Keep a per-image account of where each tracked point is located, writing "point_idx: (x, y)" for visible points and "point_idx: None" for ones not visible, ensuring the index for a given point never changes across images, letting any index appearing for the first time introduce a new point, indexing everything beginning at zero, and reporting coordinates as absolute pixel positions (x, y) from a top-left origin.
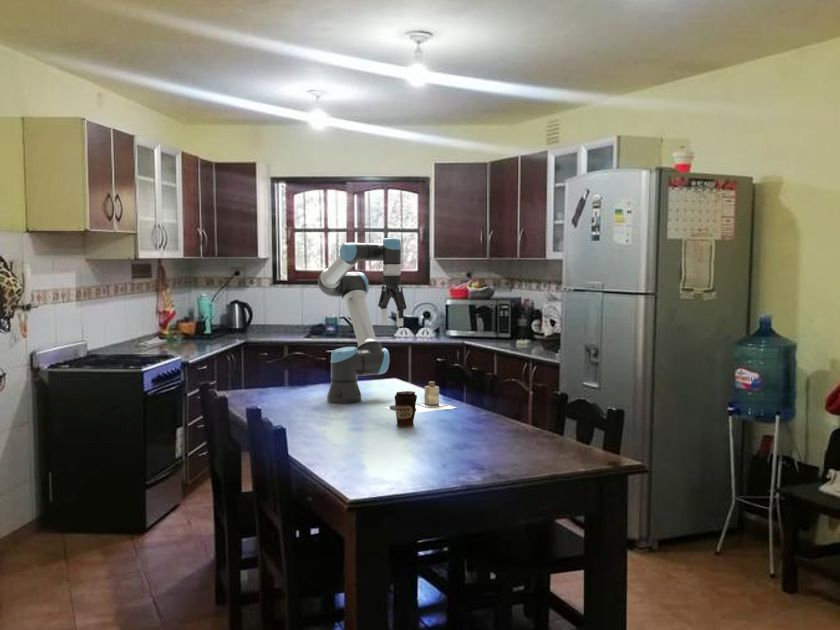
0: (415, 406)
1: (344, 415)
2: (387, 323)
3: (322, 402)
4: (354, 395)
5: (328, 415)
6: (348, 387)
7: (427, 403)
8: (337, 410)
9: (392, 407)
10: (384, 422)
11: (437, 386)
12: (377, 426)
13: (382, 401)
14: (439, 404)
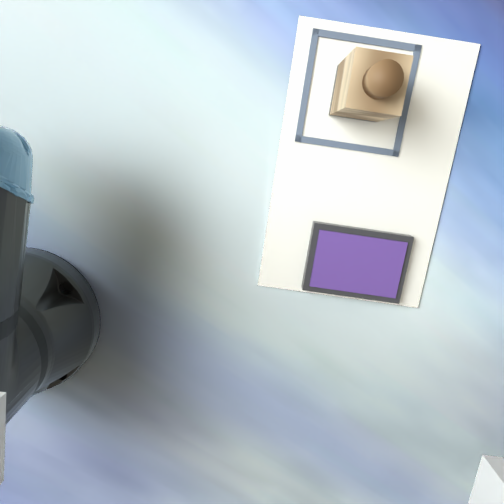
0: (332, 173)
1: (280, 463)
2: (3, 395)
3: None
4: (85, 322)
5: (245, 500)
6: (58, 359)
7: (355, 118)
8: (189, 436)
9: (325, 292)
10: (464, 428)
11: (398, 54)
12: None
13: (137, 203)
14: None
